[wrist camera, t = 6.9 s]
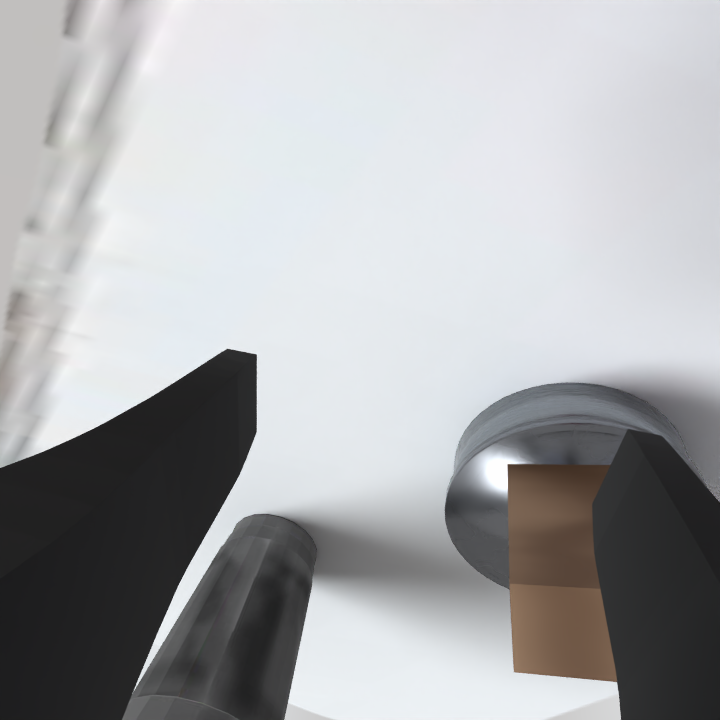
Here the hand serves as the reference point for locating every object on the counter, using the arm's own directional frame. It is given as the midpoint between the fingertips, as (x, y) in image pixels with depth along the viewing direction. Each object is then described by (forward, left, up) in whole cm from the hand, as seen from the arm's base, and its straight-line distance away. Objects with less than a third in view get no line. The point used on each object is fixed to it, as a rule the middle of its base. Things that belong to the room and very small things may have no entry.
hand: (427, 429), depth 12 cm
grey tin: (-6, +9, -10) cm, 15 cm away
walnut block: (-6, +8, -7) cm, 13 cm away
